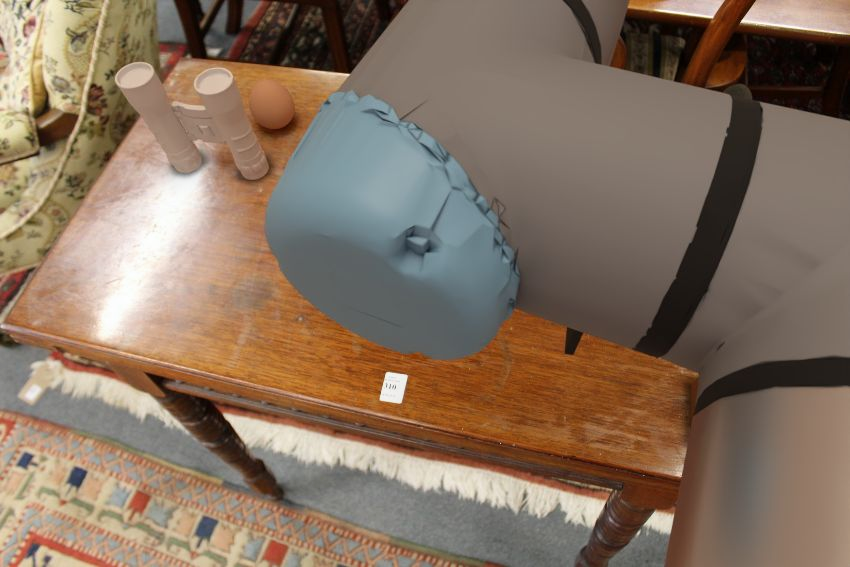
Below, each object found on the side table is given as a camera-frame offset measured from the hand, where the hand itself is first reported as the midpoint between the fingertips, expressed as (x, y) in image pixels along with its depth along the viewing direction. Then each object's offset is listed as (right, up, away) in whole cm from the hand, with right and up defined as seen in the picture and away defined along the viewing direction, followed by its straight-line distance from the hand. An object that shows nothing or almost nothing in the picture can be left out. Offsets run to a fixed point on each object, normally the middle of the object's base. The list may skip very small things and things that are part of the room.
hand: (491, 327), depth 49 cm
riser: (+29, -12, +19) cm, 37 cm away
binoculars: (-40, +23, +44) cm, 63 cm away
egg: (-31, +32, +48) cm, 65 cm away
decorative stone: (+37, +22, +38) cm, 58 cm away
